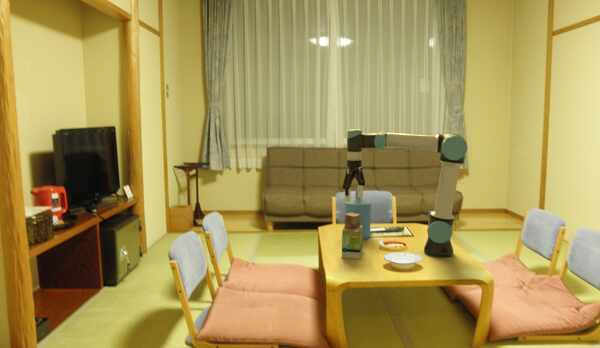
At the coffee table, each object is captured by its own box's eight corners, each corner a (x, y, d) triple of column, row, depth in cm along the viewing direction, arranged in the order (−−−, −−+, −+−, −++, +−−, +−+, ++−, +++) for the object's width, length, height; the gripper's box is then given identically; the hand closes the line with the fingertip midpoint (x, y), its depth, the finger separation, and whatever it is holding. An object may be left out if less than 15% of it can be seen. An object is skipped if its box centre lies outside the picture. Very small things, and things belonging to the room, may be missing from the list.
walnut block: (360, 227, 259) (360, 214, 258) (354, 229, 254) (354, 216, 253) (350, 225, 262) (350, 212, 261) (344, 227, 257) (344, 214, 256)
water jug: (368, 240, 286) (369, 193, 282) (342, 238, 290) (342, 192, 286) (372, 233, 301) (372, 188, 297) (346, 232, 305) (347, 187, 301)
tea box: (360, 259, 252) (360, 231, 250) (341, 258, 254) (341, 230, 252) (362, 250, 266) (363, 224, 264) (344, 249, 268) (344, 223, 266)
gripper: (359, 156, 265) (359, 195, 268) (335, 161, 245) (335, 202, 248) (371, 157, 261) (371, 196, 264) (348, 162, 241) (348, 204, 244)
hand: (354, 199), depth 256 cm, fingers open, 13 cm apart
